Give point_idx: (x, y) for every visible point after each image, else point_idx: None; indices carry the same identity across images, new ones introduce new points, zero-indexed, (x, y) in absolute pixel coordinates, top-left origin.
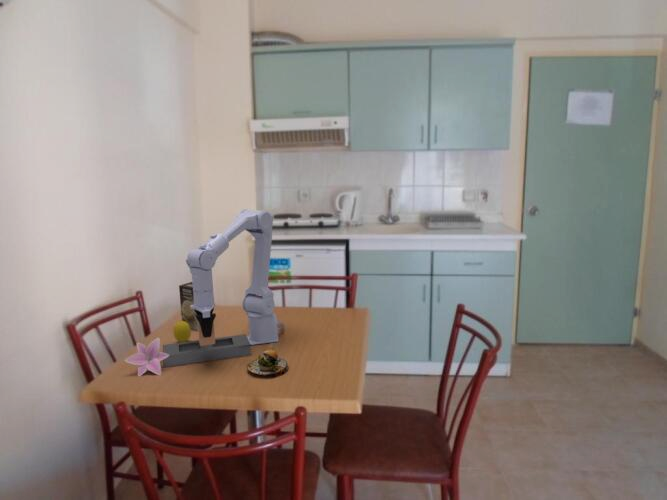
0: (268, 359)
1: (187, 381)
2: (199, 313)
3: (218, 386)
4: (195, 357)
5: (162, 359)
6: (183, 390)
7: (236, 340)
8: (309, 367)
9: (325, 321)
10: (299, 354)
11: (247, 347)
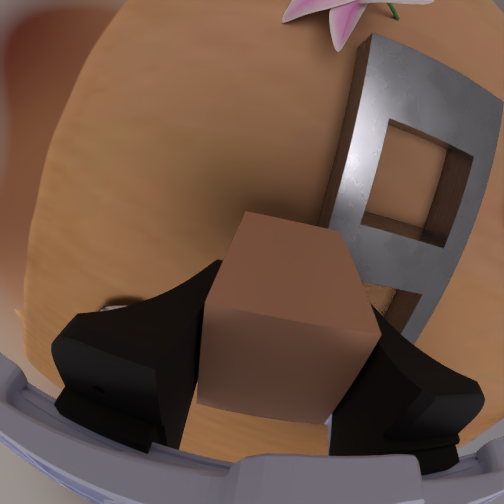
0: None
1: (157, 105)
2: (388, 399)
3: (84, 197)
4: (335, 180)
5: (330, 22)
6: (100, 90)
7: None
8: None
9: None
10: (209, 416)
11: None
